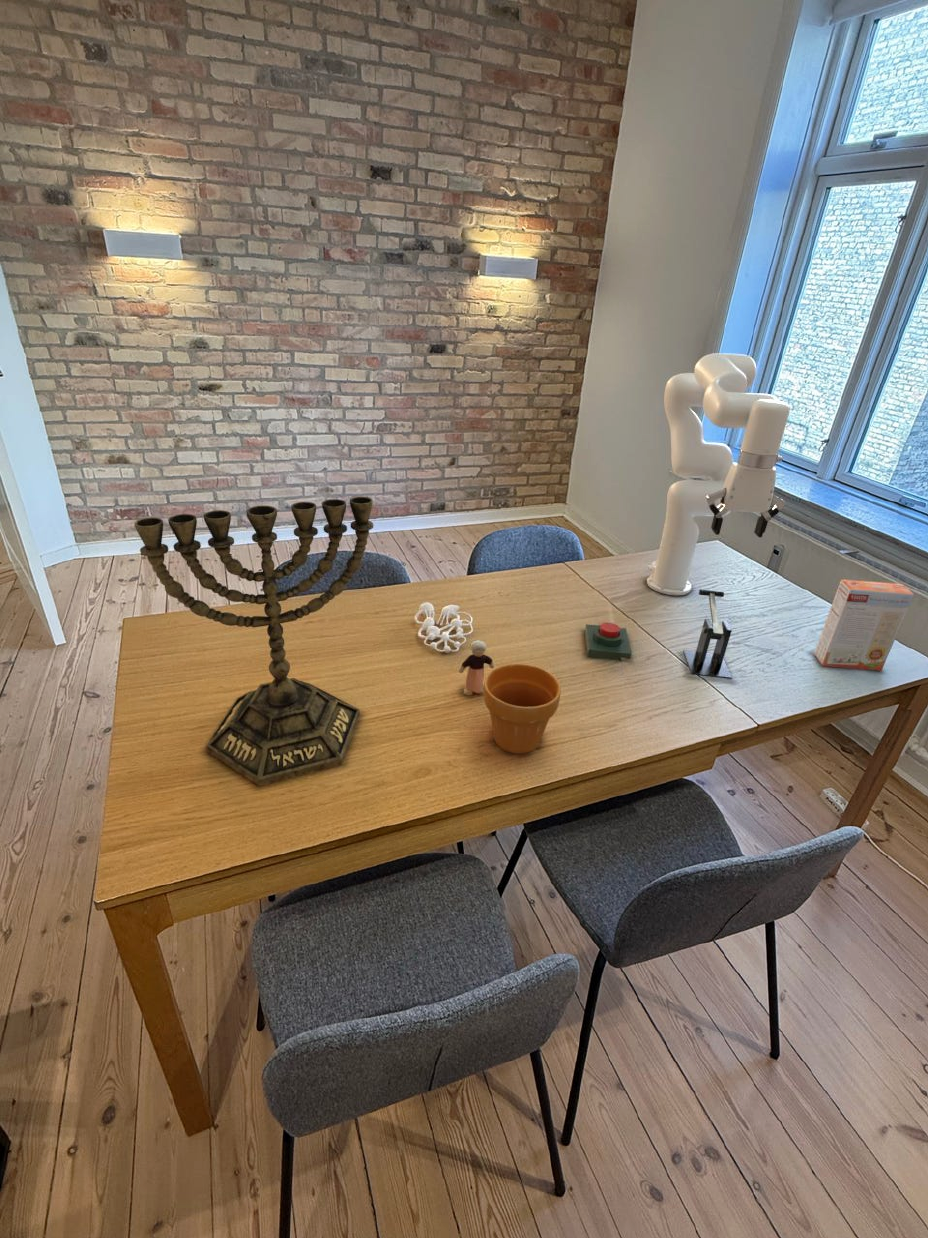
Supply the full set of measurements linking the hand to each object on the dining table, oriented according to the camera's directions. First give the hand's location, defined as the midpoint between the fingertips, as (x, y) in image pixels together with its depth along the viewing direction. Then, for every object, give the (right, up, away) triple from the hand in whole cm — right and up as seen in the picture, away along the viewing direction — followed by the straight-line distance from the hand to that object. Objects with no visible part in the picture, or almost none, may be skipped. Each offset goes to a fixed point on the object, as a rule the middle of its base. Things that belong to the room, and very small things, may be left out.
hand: (736, 533), depth 147 cm
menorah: (-97, -42, -24) cm, 108 cm away
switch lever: (-5, -19, +2) cm, 20 cm away
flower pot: (-53, -43, -22) cm, 72 cm away
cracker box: (+30, -30, +8) cm, 44 cm away
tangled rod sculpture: (-68, -23, +11) cm, 72 cm away
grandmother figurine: (-60, -35, -9) cm, 70 cm away
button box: (-28, -26, +9) cm, 39 cm away
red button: (-28, -23, +8) cm, 37 cm away
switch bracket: (-6, -31, +3) cm, 32 cm away
